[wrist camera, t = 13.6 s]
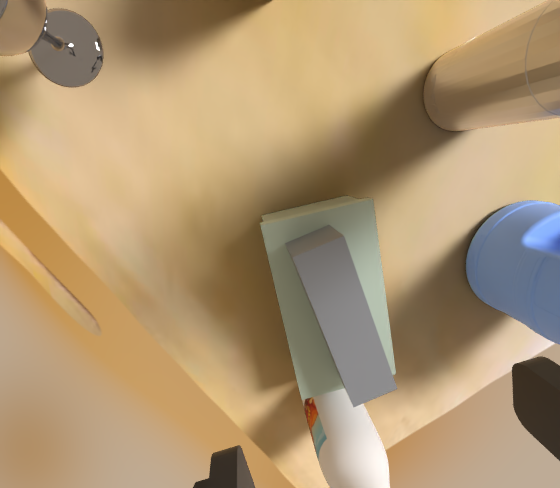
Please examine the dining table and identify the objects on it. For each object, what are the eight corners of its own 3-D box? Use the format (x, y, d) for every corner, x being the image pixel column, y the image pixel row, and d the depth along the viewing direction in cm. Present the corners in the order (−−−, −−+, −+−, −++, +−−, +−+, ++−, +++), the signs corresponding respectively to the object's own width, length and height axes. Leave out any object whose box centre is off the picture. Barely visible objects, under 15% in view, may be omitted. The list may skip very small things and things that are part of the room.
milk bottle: (314, 359, 46) (370, 504, 26) (360, 375, 47) (444, 522, 28) (291, 402, 47) (328, 570, 28) (336, 416, 49) (400, 584, 29)
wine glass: (78, 108, 34) (-40, 70, 20) (6, 50, 32) (-184, -40, 18) (123, 47, 33) (35, -39, 19) (52, -16, 31) (-108, -168, 17)
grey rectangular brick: (328, 224, 33) (344, 235, 29) (377, 360, 38) (397, 388, 34) (284, 243, 33) (292, 257, 29) (339, 376, 38) (353, 407, 34)
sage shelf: (350, 192, 40) (372, 198, 33) (373, 342, 46) (396, 374, 39) (256, 214, 39) (260, 225, 33) (292, 364, 45) (301, 400, 39)
